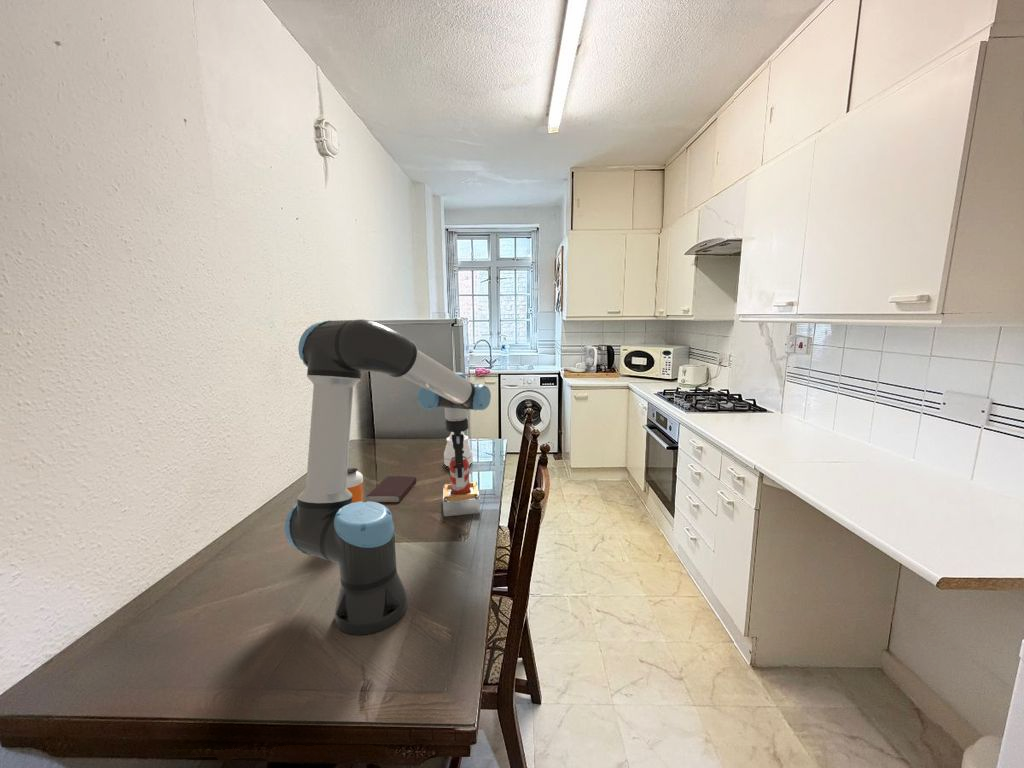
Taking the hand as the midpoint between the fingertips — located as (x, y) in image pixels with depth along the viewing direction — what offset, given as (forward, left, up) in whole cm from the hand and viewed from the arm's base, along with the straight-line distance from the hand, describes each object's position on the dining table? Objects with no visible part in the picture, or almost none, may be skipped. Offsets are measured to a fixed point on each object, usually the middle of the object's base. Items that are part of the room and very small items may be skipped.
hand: (460, 479), depth 145 cm
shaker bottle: (-11, +34, -10) cm, 37 cm away
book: (+19, +26, -10) cm, 34 cm away
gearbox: (0, 0, -10) cm, 10 cm away
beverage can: (0, 0, -5) cm, 5 cm away
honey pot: (+47, 0, -10) cm, 48 cm away
